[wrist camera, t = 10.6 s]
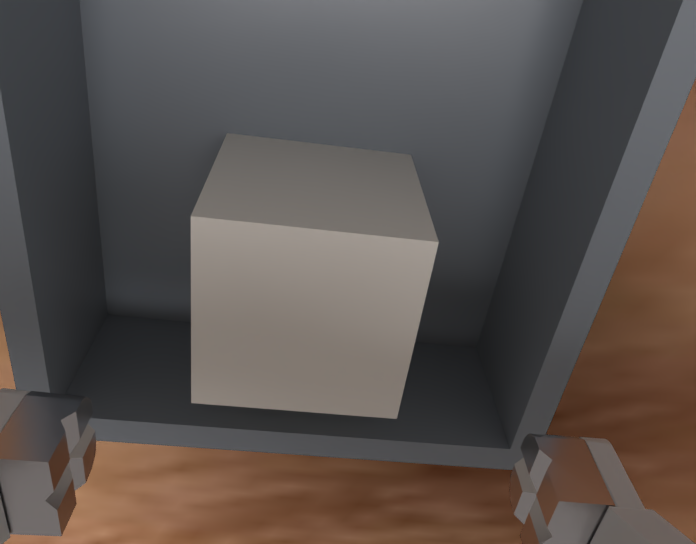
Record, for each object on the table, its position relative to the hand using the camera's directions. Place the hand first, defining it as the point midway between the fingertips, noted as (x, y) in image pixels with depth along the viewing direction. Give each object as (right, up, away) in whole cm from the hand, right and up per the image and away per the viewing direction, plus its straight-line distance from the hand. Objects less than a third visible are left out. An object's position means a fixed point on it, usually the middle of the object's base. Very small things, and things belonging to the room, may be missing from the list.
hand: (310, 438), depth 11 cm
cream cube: (0, +4, +6) cm, 8 cm away
